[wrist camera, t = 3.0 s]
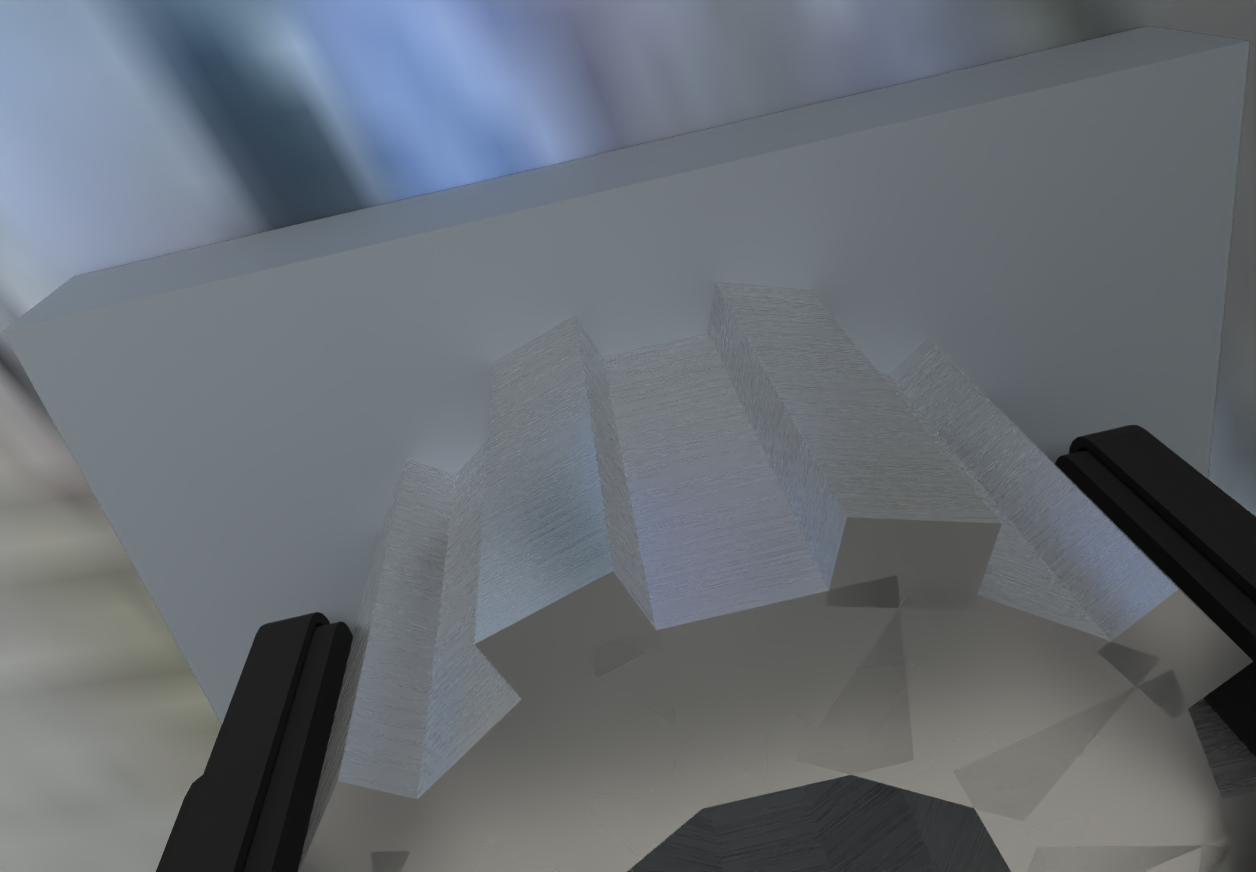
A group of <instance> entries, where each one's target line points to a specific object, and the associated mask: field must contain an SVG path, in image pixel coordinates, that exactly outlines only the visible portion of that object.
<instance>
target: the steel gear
mask: <svg viewBox="0 0 1256 872" xmlns="http://www.w3.org/2000/svg"><path fill="white" fill-rule="evenodd" d="M1252 662H1253V661H1252V660H1251V659H1250V658H1249V657H1248V656H1247V655H1246V654H1245V653H1244V652H1243V651H1242V650H1241V649H1240V648H1239V647H1238V646H1237V645H1236V644H1235V643H1234V642H1233V641H1232V640H1231V639H1230V638H1229V637H1228V636H1227V635H1226V634H1225V633H1224V632H1223V631H1222V630H1221V629H1220V628H1219V627H1218V626H1217V625H1216V624H1215V623H1214V622H1213V621H1212V620H1211V619H1210V618H1209V617H1208V616H1207V615H1206V614H1205V613H1204V612H1203V611H1202V610H1201V609H1200V608H1199V607H1198V606H1197V605H1196V604H1195V603H1194V602H1193V601H1192V600H1191V599H1190V598H1189V597H1188V596H1187V595H1186V594H1185V593H1184V592H1183V591H1182V590H1181V589H1180V588H1179V587H1178V586H1177V585H1176V584H1175V583H1174V582H1173V581H1172V580H1171V579H1170V578H1169V577H1168V576H1167V575H1166V574H1165V573H1164V572H1163V571H1162V570H1161V569H1160V568H1159V567H1158V566H1157V565H1156V564H1155V563H1154V562H1153V561H1152V560H1151V559H1150V558H1149V557H1148V556H1147V555H1146V554H1145V553H1144V552H1143V551H1142V550H1141V549H1140V548H1139V547H1138V546H1137V545H1136V544H1135V543H1134V542H1133V541H1132V540H1131V539H1130V538H1129V537H1128V536H1127V535H1126V534H1125V533H1124V532H1123V531H1122V530H1121V529H1120V528H1119V527H1118V526H1117V525H1116V524H1115V523H1114V522H1113V521H1112V520H1111V519H1110V518H1109V517H1108V516H1107V515H1106V514H1105V513H1104V512H1103V511H1102V510H1101V509H1100V508H1099V507H1098V506H1097V505H1096V504H1095V503H1094V502H1093V501H1092V500H1091V499H1090V498H1089V497H1088V496H1087V495H1086V494H1085V493H1084V492H1083V491H1082V490H1081V489H1080V488H1079V487H1078V486H1077V485H1076V484H1075V483H1074V482H1073V481H1072V480H1071V479H1070V478H1069V477H1068V476H1067V475H1066V474H1065V473H1064V472H1063V471H1062V470H1061V469H1060V468H1059V467H1058V466H1057V465H1056V464H1055V463H1054V462H1053V461H1052V460H1051V459H1050V458H1049V457H1048V456H1047V455H1046V454H1045V453H1044V452H1043V451H1042V450H1041V449H1040V448H1039V447H1038V446H1037V445H1036V444H1035V443H1033V442H1032V441H1031V440H1030V439H1029V438H1028V437H1027V436H1026V435H1025V434H1024V433H1023V432H1022V431H1021V430H1020V429H1019V428H1018V427H1017V426H1016V425H1015V424H1014V423H1013V422H1012V421H1011V420H1010V419H1009V418H1008V417H1007V416H1006V415H1005V414H1004V413H1003V412H1002V411H1001V410H1000V409H999V408H998V407H997V406H996V405H995V404H994V403H993V402H992V401H991V400H990V399H989V398H988V397H987V396H986V395H985V394H984V393H983V392H982V391H981V390H980V389H979V388H978V387H977V386H976V385H975V384H974V383H973V382H972V381H971V380H970V379H969V378H968V377H967V376H966V375H965V374H964V373H963V372H962V371H961V370H960V369H958V368H957V367H956V366H955V365H954V364H953V363H952V362H951V361H950V360H949V359H948V358H947V357H946V356H945V355H944V354H943V353H942V352H941V351H940V350H939V349H938V348H937V347H936V346H935V345H934V344H933V343H932V342H931V341H930V340H929V339H927V340H926V341H925V342H924V343H923V344H922V345H921V346H920V347H918V348H917V349H916V350H915V351H914V352H913V353H912V354H911V355H910V356H909V357H908V358H907V359H906V360H905V361H904V362H903V363H902V364H900V365H899V366H898V367H897V368H896V369H895V370H894V371H893V372H892V373H891V374H890V375H888V374H886V373H883V372H881V371H878V370H876V369H875V367H874V366H873V365H872V364H871V362H870V361H869V360H868V359H867V357H866V356H865V355H864V354H863V353H862V351H861V350H860V349H859V348H858V346H857V345H856V344H855V343H854V341H853V340H852V339H851V338H850V337H849V335H848V334H847V333H846V332H845V330H844V329H843V328H842V327H841V325H840V324H839V323H838V322H837V321H836V319H835V318H834V317H833V316H832V314H831V313H830V312H829V311H828V309H827V308H826V307H825V306H824V305H823V303H822V302H821V301H820V300H819V298H818V297H817V296H816V295H815V293H814V292H813V291H812V290H811V289H801V288H788V287H775V286H762V285H748V284H735V283H722V282H716V283H715V290H714V296H713V303H712V309H711V315H710V322H709V328H708V333H704V334H699V335H695V336H691V337H686V338H682V339H678V340H673V341H669V342H665V343H660V344H656V345H652V346H648V347H643V348H639V349H635V350H630V351H626V352H622V353H617V354H613V355H609V356H604V357H603V356H602V355H601V353H600V352H599V350H598V348H597V347H596V345H595V344H594V342H593V341H592V339H591V338H590V336H589V334H588V333H587V331H586V330H585V328H584V327H583V325H582V324H581V322H580V321H579V319H578V317H577V316H576V315H574V316H572V317H570V318H569V319H567V320H565V321H564V322H562V323H560V324H558V325H557V326H555V327H553V328H552V329H550V330H548V331H546V332H545V333H543V334H541V335H540V336H538V337H536V338H534V339H533V340H531V341H529V342H528V343H526V344H524V345H522V346H521V347H519V348H517V349H516V350H514V351H512V352H510V353H509V354H507V355H505V356H504V357H502V358H500V359H498V360H497V361H495V362H493V363H492V376H491V391H490V407H489V423H488V438H487V441H486V442H485V444H484V445H483V446H482V447H481V448H480V449H479V450H478V451H477V452H476V453H475V454H474V456H473V457H472V458H471V459H470V460H469V461H468V462H467V463H466V464H465V465H464V466H463V468H462V469H461V470H460V471H459V472H458V473H457V474H456V475H454V474H451V473H448V472H445V471H442V470H439V469H436V468H433V467H430V466H427V465H424V464H421V463H418V462H414V461H411V460H408V459H407V460H406V462H405V465H404V467H403V470H402V472H401V475H400V478H399V480H398V483H397V485H396V488H395V490H394V493H393V495H392V498H391V500H390V503H389V506H388V508H387V511H386V513H385V516H384V518H383V521H382V523H381V526H380V528H379V531H378V534H377V538H376V543H375V547H374V551H373V555H372V560H371V564H370V568H369V572H368V576H367V581H366V585H365V589H364V593H363V598H362V602H361V606H360V610H359V615H358V619H357V623H356V627H355V632H354V636H353V640H352V644H351V648H350V653H349V657H348V661H347V665H346V670H345V674H344V678H343V682H342V687H341V691H340V695H339V699H338V703H337V708H336V712H335V716H334V720H333V725H332V729H331V733H330V737H329V742H328V746H327V750H326V754H325V758H324V763H323V767H322V771H321V775H320V780H319V784H318V788H317V792H316V797H315V801H314V805H313V809H312V813H311V818H310V822H309V826H308V830H307V835H306V839H305V843H304V847H303V852H302V856H301V860H300V864H299V868H298V872H1256V757H1255V756H1254V755H1253V754H1252V753H1251V752H1250V750H1249V749H1248V748H1247V747H1246V746H1245V745H1244V744H1243V743H1242V741H1241V740H1240V739H1239V738H1238V737H1237V736H1236V735H1235V734H1234V732H1233V731H1232V730H1231V729H1230V728H1229V727H1228V726H1227V725H1226V723H1225V722H1224V721H1223V720H1222V719H1221V718H1220V717H1219V716H1218V714H1217V713H1216V712H1215V711H1214V710H1213V709H1212V708H1211V707H1210V706H1209V704H1208V703H1207V702H1206V701H1205V700H1204V699H1203V698H1204V697H1205V696H1206V695H1208V694H1209V693H1210V692H1212V691H1213V690H1215V689H1216V688H1217V687H1219V686H1220V685H1221V684H1223V683H1224V682H1226V681H1227V680H1228V679H1230V678H1231V677H1232V676H1234V675H1235V674H1237V673H1238V672H1239V671H1241V670H1242V669H1243V668H1245V667H1246V666H1248V665H1249V664H1250V663H1252Z"/></svg>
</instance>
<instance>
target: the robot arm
mask: <svg viewBox="0 0 1256 872" xmlns="http://www.w3.org/2000/svg"><path fill="white" fill-rule="evenodd" d="M1055 464H1056V465H1057V466H1058V467H1059V468H1060V469H1061V470H1062V471H1063V472H1064V473H1065V474H1066V475H1067V476H1068V477H1069V478H1070V479H1071V480H1072V481H1073V482H1074V483H1075V484H1076V485H1077V486H1078V487H1079V488H1080V489H1081V490H1082V491H1083V492H1084V493H1085V494H1086V495H1087V496H1088V497H1089V498H1090V499H1091V500H1092V501H1093V502H1094V503H1095V504H1096V505H1097V506H1098V507H1099V508H1100V509H1101V510H1102V511H1103V512H1104V513H1105V514H1106V515H1107V516H1108V517H1109V518H1110V519H1111V520H1112V521H1113V522H1114V523H1115V524H1116V525H1117V526H1118V527H1119V528H1120V529H1121V530H1122V531H1123V532H1124V533H1125V534H1126V535H1127V536H1128V537H1129V538H1130V539H1131V540H1132V541H1133V542H1134V543H1135V544H1136V545H1137V546H1138V547H1139V548H1140V549H1141V550H1142V551H1143V552H1144V553H1145V554H1146V555H1147V556H1148V557H1149V558H1150V559H1151V560H1152V561H1153V562H1154V563H1155V564H1156V565H1157V566H1158V567H1159V568H1160V569H1161V570H1162V571H1163V572H1164V573H1165V574H1166V575H1167V576H1168V577H1169V578H1170V579H1171V580H1172V581H1173V582H1174V583H1175V584H1176V585H1177V586H1178V587H1179V588H1180V589H1181V590H1182V591H1183V592H1184V593H1185V594H1186V595H1187V596H1188V597H1189V598H1190V599H1191V600H1192V601H1193V602H1194V603H1195V604H1196V605H1197V606H1198V607H1199V608H1200V609H1201V610H1202V611H1203V612H1204V613H1205V614H1206V615H1207V616H1208V617H1209V618H1210V619H1211V620H1212V621H1213V622H1214V623H1215V624H1216V625H1217V626H1218V627H1219V628H1220V629H1221V630H1222V631H1223V632H1224V633H1225V634H1226V635H1227V636H1228V637H1229V638H1230V639H1231V640H1232V641H1233V642H1234V643H1235V644H1236V645H1237V646H1238V647H1239V648H1240V649H1241V650H1242V651H1243V652H1244V653H1245V654H1246V655H1247V656H1248V657H1249V658H1250V659H1251V660H1252V661H1253V662H1252V663H1250V664H1249V665H1248V666H1246V667H1245V668H1243V669H1242V670H1241V671H1239V672H1238V673H1237V674H1235V675H1234V676H1232V677H1231V678H1230V679H1228V680H1227V681H1226V682H1224V683H1223V684H1221V685H1220V686H1219V687H1217V688H1216V689H1215V690H1213V691H1212V692H1210V693H1209V694H1208V695H1206V696H1205V697H1204V698H1203V699H1204V700H1205V701H1206V702H1207V703H1208V704H1209V706H1210V707H1211V708H1212V709H1213V710H1214V711H1215V712H1216V713H1217V714H1218V716H1219V717H1220V718H1221V719H1222V720H1223V721H1224V722H1225V723H1226V725H1227V726H1228V727H1229V728H1230V729H1231V730H1232V731H1233V732H1234V734H1235V735H1236V736H1237V737H1238V738H1239V739H1240V740H1241V741H1242V743H1243V744H1244V745H1245V746H1246V747H1247V748H1248V749H1249V750H1250V752H1251V753H1252V754H1253V755H1254V756H1255V757H1256V517H1255V516H1254V515H1252V514H1251V513H1250V512H1249V511H1247V510H1246V509H1245V508H1244V507H1242V506H1241V505H1240V504H1239V503H1237V502H1236V501H1235V500H1234V499H1232V498H1231V497H1230V496H1229V495H1227V494H1226V493H1225V492H1224V491H1222V490H1221V489H1220V488H1218V487H1217V486H1216V485H1215V484H1213V483H1212V482H1211V481H1210V480H1208V479H1207V478H1206V477H1205V476H1203V475H1202V474H1201V473H1200V472H1198V471H1197V470H1196V469H1195V468H1193V467H1192V466H1191V465H1190V464H1188V463H1187V462H1186V461H1185V460H1183V459H1182V458H1181V457H1179V456H1178V455H1177V454H1176V453H1174V452H1173V451H1172V450H1171V449H1169V448H1168V447H1167V446H1166V445H1164V444H1163V443H1162V442H1161V441H1159V440H1158V439H1157V438H1156V437H1154V436H1153V435H1152V434H1151V433H1149V432H1148V431H1147V430H1146V429H1144V428H1142V427H1140V426H1138V425H1128V426H1123V427H1119V428H1115V429H1110V430H1106V431H1101V432H1097V433H1093V434H1088V435H1084V436H1080V437H1077V438H1076V439H1074V440H1073V441H1072V443H1071V446H1070V448H1069V454H1067V455H1062V456H1060V457H1059V458H1057V460H1056V463H1055ZM352 640H353V635H352V633H351V631H350V629H349V627H348V626H347V625H346V624H345V623H344V622H341V621H340V622H336V623H332V624H330V622H329V620H328V619H327V617H326V616H325V615H324V614H323V613H320V612H315V613H310V614H306V615H302V616H297V617H293V618H288V619H284V620H280V621H275V622H271V623H267V624H264V625H262V626H261V627H260V628H259V630H258V631H257V633H256V636H255V638H254V641H253V644H252V646H251V649H250V652H249V654H248V657H247V660H246V662H245V665H244V667H243V670H242V673H241V675H240V678H239V681H238V683H237V686H236V689H235V691H234V694H233V697H232V699H231V702H230V705H229V707H228V710H227V713H226V715H225V718H224V721H223V723H222V726H221V729H220V731H219V734H218V737H217V739H216V742H215V745H214V747H213V750H212V753H211V755H210V758H209V761H208V763H207V766H206V769H205V771H204V774H203V775H202V776H201V777H200V778H198V779H197V780H196V781H195V782H194V783H192V785H191V787H190V789H189V791H188V792H187V794H186V796H185V798H184V801H183V803H182V806H181V808H180V811H179V813H178V816H177V819H176V821H175V824H174V826H173V829H172V832H171V834H170V837H169V839H168V842H167V844H166V847H165V850H164V852H163V855H162V857H161V860H160V863H159V865H158V868H157V870H156V872H298V868H299V864H300V860H301V856H302V852H303V847H304V843H305V839H306V835H307V830H308V826H309V822H310V818H311V813H312V809H313V805H314V801H315V797H316V792H317V788H318V784H319V780H320V775H321V771H322V767H323V763H324V758H325V754H326V750H327V746H328V742H329V737H330V733H331V729H332V725H333V720H334V716H335V712H336V708H337V703H338V699H339V695H340V691H341V687H342V682H343V678H344V674H345V670H346V665H347V661H348V657H349V653H350V648H351V644H352Z"/></svg>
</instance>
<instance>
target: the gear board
mask: <svg viewBox="0 0 1256 872" xmlns="http://www.w3.org/2000/svg"><path fill="white" fill-rule="evenodd" d="M1249 45H1250V41H1246V40H1240V39H1233V38H1226V37H1220V36H1213V35H1206V34H1200V33H1193V32H1186V31H1180V30H1173V29H1166V28H1160V27H1153V26H1147V27H1142V28H1138V29H1134V30H1129V31H1125V32H1121V33H1117V34H1112V35H1108V36H1104V37H1099V38H1095V39H1091V40H1087V41H1082V42H1078V43H1074V44H1069V45H1065V46H1061V47H1056V48H1052V49H1048V50H1044V51H1039V52H1035V53H1031V54H1026V55H1022V56H1018V57H1014V58H1009V59H1005V60H1001V61H996V62H992V63H988V64H984V65H979V66H975V67H971V68H966V69H962V70H958V71H953V72H949V73H945V74H941V75H936V76H932V77H928V78H923V79H919V80H915V81H911V82H906V83H902V84H898V85H893V86H889V87H885V88H881V89H876V90H872V91H868V92H863V93H859V94H855V95H850V96H846V97H842V98H838V99H833V100H829V101H825V102H820V103H816V104H812V105H808V106H803V107H799V108H795V109H790V110H786V111H782V112H777V113H773V114H769V115H765V116H760V117H756V118H752V119H747V120H743V121H739V122H735V123H730V124H726V125H722V126H717V127H713V128H709V129H705V130H700V131H696V132H692V133H687V134H683V135H679V136H674V137H670V138H666V139H662V140H657V141H653V142H649V143H644V144H640V145H636V146H632V147H627V148H623V149H619V150H614V151H610V152H606V153H602V154H597V155H593V156H589V157H584V158H580V159H576V160H571V161H567V162H563V163H559V164H554V165H550V166H546V167H541V168H537V169H533V170H529V171H524V172H520V173H516V174H511V175H507V176H503V177H499V178H494V179H490V180H486V181H481V182H477V183H473V184H468V185H464V186H460V187H456V188H451V189H447V190H443V191H438V192H434V193H430V194H426V195H421V196H417V197H413V198H408V199H404V200H400V201H395V202H391V203H387V204H383V205H378V206H374V207H370V208H365V209H361V210H357V211H353V212H348V213H344V214H340V215H335V216H331V217H327V218H323V219H318V220H314V221H310V222H305V223H301V224H297V225H292V226H288V227H284V228H280V229H275V230H271V231H267V232H262V233H258V234H254V235H250V236H245V237H241V238H237V239H232V240H228V241H224V242H220V243H215V244H211V245H207V246H202V247H198V248H194V249H189V250H185V251H181V252H177V253H172V254H168V255H164V256H159V257H155V258H151V259H147V260H142V261H138V262H134V263H129V264H125V265H121V266H116V267H112V268H108V269H104V270H99V271H95V272H91V273H86V274H82V275H78V276H74V277H72V278H71V279H70V280H68V281H67V282H66V283H64V284H63V285H62V286H61V287H59V288H58V289H57V290H55V291H54V292H53V293H52V294H50V295H49V296H48V297H46V298H45V299H44V300H42V301H41V302H40V303H39V304H37V305H36V306H35V307H33V308H32V309H31V310H30V311H28V312H27V313H26V314H24V315H23V316H22V317H20V318H19V319H18V320H17V321H15V322H14V323H13V324H11V325H10V326H9V327H8V328H6V329H5V330H4V331H3V332H4V334H5V336H6V338H7V339H8V341H9V343H10V345H11V347H12V348H13V350H14V352H15V354H16V356H17V357H18V359H19V361H20V363H21V365H22V366H23V368H24V370H25V372H26V374H27V375H28V377H29V379H30V381H31V383H32V384H33V386H34V388H35V390H36V392H37V393H38V395H39V397H40V399H41V401H42V402H43V404H44V406H45V408H46V410H47V411H48V413H49V415H50V417H51V419H52V420H53V422H54V424H55V426H56V428H57V429H58V431H59V433H60V435H61V437H62V438H63V440H64V442H65V444H66V446H67V447H68V449H69V451H70V453H71V455H72V456H73V458H74V460H75V462H76V464H77V465H78V467H79V469H80V471H81V473H82V474H83V476H84V478H85V480H86V482H87V483H88V485H89V487H90V489H91V491H92V492H93V494H94V496H95V498H96V499H97V501H98V503H99V505H100V507H101V508H102V510H103V512H104V514H105V516H106V517H107V519H108V521H109V523H110V525H111V526H112V528H113V530H114V532H115V534H116V535H117V537H118V539H119V541H120V543H121V544H122V546H123V548H124V550H125V552H126V553H127V555H128V557H129V559H130V561H131V562H132V564H133V566H134V568H135V570H136V571H137V573H138V575H139V577H140V579H141V580H142V582H143V584H144V586H145V588H146V589H147V591H148V593H149V595H150V597H151V598H152V600H153V602H154V604H155V606H156V607H157V609H158V611H159V613H160V615H161V616H162V618H163V620H164V622H165V624H166V625H167V627H168V629H169V631H170V633H171V634H172V636H173V638H174V640H175V642H176V643H177V645H178V647H179V649H180V651H181V652H182V654H183V656H184V658H185V659H186V661H187V663H188V665H189V667H190V668H191V670H192V672H193V674H194V676H195V677H196V679H197V681H198V683H199V685H200V686H201V688H202V690H203V692H204V694H205V695H206V697H207V699H208V701H209V703H210V704H211V706H212V708H213V710H214V712H215V713H216V715H217V717H218V719H219V721H220V722H221V724H222V723H223V721H224V718H225V715H226V713H227V710H228V707H229V705H230V702H231V699H232V697H233V694H234V691H235V689H236V686H237V683H238V681H239V678H240V675H241V673H242V670H243V667H244V665H245V662H246V660H247V657H248V654H249V652H250V649H251V646H252V644H253V641H254V638H255V636H256V633H257V631H258V630H259V628H260V627H261V626H262V625H264V624H267V623H271V622H275V621H280V620H284V619H288V618H293V617H297V616H302V615H306V614H310V613H315V612H320V613H323V614H324V615H325V616H326V617H327V619H328V620H329V622H330V624H332V623H336V622H340V621H341V622H344V623H345V624H346V625H347V626H348V627H349V629H350V631H351V633H352V635H353V636H354V632H355V627H356V623H357V619H358V615H359V610H360V606H361V602H362V598H363V593H364V589H365V585H366V581H367V576H368V572H369V568H370V564H371V560H372V555H373V551H374V547H375V543H376V538H377V534H378V531H379V528H380V526H381V523H382V521H383V518H384V516H385V513H386V511H387V508H388V506H389V503H390V500H391V498H392V495H393V493H394V490H395V488H396V485H397V483H398V480H399V478H400V475H401V472H402V470H403V467H404V465H405V462H406V460H407V459H408V460H411V461H414V462H418V463H421V464H424V465H427V466H430V467H433V468H436V469H439V470H442V471H445V472H448V473H451V474H454V475H456V474H457V473H458V472H459V471H460V470H461V469H462V468H463V466H464V465H465V464H466V463H467V462H468V461H469V460H470V459H471V458H472V457H473V456H474V454H475V453H476V452H477V451H478V450H479V449H480V448H481V447H482V446H483V445H484V444H485V442H486V441H487V438H488V423H489V407H490V391H491V376H492V363H493V362H495V361H497V360H498V359H500V358H502V357H504V356H505V355H507V354H509V353H510V352H512V351H514V350H516V349H517V348H519V347H521V346H522V345H524V344H526V343H528V342H529V341H531V340H533V339H534V338H536V337H538V336H540V335H541V334H543V333H545V332H546V331H548V330H550V329H552V328H553V327H555V326H557V325H558V324H560V323H562V322H564V321H565V320H567V319H569V318H570V317H572V316H574V315H576V316H577V317H578V319H579V321H580V322H581V324H582V325H583V327H584V328H585V330H586V331H587V333H588V334H589V336H590V338H591V339H592V341H593V342H594V344H595V345H596V347H597V348H598V350H599V352H600V353H601V355H602V356H603V357H604V356H609V355H613V354H617V353H622V352H626V351H630V350H635V349H639V348H643V347H648V346H652V345H656V344H660V343H665V342H669V341H673V340H678V339H682V338H686V337H691V336H695V335H699V334H704V333H708V328H709V322H710V315H711V309H712V303H713V296H714V290H715V283H716V282H722V283H735V284H748V285H762V286H775V287H788V288H801V289H811V290H812V291H813V292H814V293H815V295H816V296H817V297H818V298H819V300H820V301H821V302H822V303H823V305H824V306H825V307H826V308H827V309H828V311H829V312H830V313H831V314H832V316H833V317H834V318H835V319H836V321H837V322H838V323H839V324H840V325H841V327H842V328H843V329H844V330H845V332H846V333H847V334H848V335H849V337H850V338H851V339H852V340H853V341H854V343H855V344H856V345H857V346H858V348H859V349H860V350H861V351H862V353H863V354H864V355H865V356H866V357H867V359H868V360H869V361H870V362H871V364H872V365H873V366H874V367H875V369H876V370H878V371H881V372H883V373H886V374H888V375H890V374H891V373H892V372H893V371H894V370H895V369H896V368H897V367H898V366H899V365H900V364H902V363H903V362H904V361H905V360H906V359H907V358H908V357H909V356H910V355H911V354H912V353H913V352H914V351H915V350H916V349H917V348H918V347H920V346H921V345H922V344H923V343H924V342H925V341H926V340H927V339H929V340H930V341H931V342H932V343H933V344H934V345H935V346H936V347H937V348H938V349H939V350H940V351H941V352H942V353H943V354H944V355H945V356H946V357H947V358H948V359H949V360H950V361H951V362H952V363H953V364H954V365H955V366H956V367H957V368H958V369H960V370H961V371H962V372H963V373H964V374H965V375H966V376H967V377H968V378H969V379H970V380H971V381H972V382H973V383H974V384H975V385H976V386H977V387H978V388H979V389H980V390H981V391H982V392H983V393H984V394H985V395H986V396H987V397H988V398H989V399H990V400H991V401H992V402H993V403H994V404H995V405H996V406H997V407H998V408H999V409H1000V410H1001V411H1002V412H1003V413H1004V414H1005V415H1006V416H1007V417H1008V418H1009V419H1010V420H1011V421H1012V422H1013V423H1014V424H1015V425H1016V426H1017V427H1018V428H1019V429H1020V430H1021V431H1022V432H1023V433H1024V434H1025V435H1026V436H1027V437H1028V438H1029V439H1030V440H1031V441H1032V442H1033V443H1035V444H1036V445H1037V446H1038V447H1039V448H1040V449H1041V450H1042V451H1043V452H1044V453H1045V454H1046V455H1047V456H1048V457H1049V458H1050V459H1051V460H1052V461H1053V462H1054V463H1056V460H1057V458H1059V457H1060V456H1062V455H1067V454H1069V448H1070V446H1071V443H1072V441H1073V440H1074V439H1076V438H1077V437H1080V436H1084V435H1088V434H1093V433H1097V432H1101V431H1106V430H1110V429H1115V428H1119V427H1123V426H1128V425H1138V426H1140V427H1142V428H1144V429H1146V430H1147V431H1148V432H1149V433H1151V434H1152V435H1153V436H1154V437H1156V438H1157V439H1158V440H1159V441H1161V442H1162V443H1163V444H1164V445H1166V446H1167V447H1168V448H1169V449H1171V450H1172V451H1173V452H1174V453H1176V454H1177V455H1178V456H1179V457H1181V458H1182V459H1183V460H1185V461H1186V462H1187V463H1188V464H1190V465H1191V466H1192V467H1193V468H1195V469H1196V470H1197V471H1198V472H1200V473H1201V474H1202V475H1203V476H1205V477H1206V478H1207V479H1208V473H1209V462H1210V452H1211V442H1212V431H1213V421H1214V410H1215V400H1216V389H1217V379H1218V369H1219V358H1220V348H1221V337H1222V327H1223V316H1224V306H1225V296H1226V285H1227V275H1228V264H1229V254H1230V243H1231V233H1232V222H1233V212H1234V202H1235V191H1236V181H1237V170H1238V160H1239V149H1240V139H1241V129H1242V118H1243V108H1244V97H1245V87H1246V76H1247V66H1248V56H1249Z"/></svg>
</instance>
